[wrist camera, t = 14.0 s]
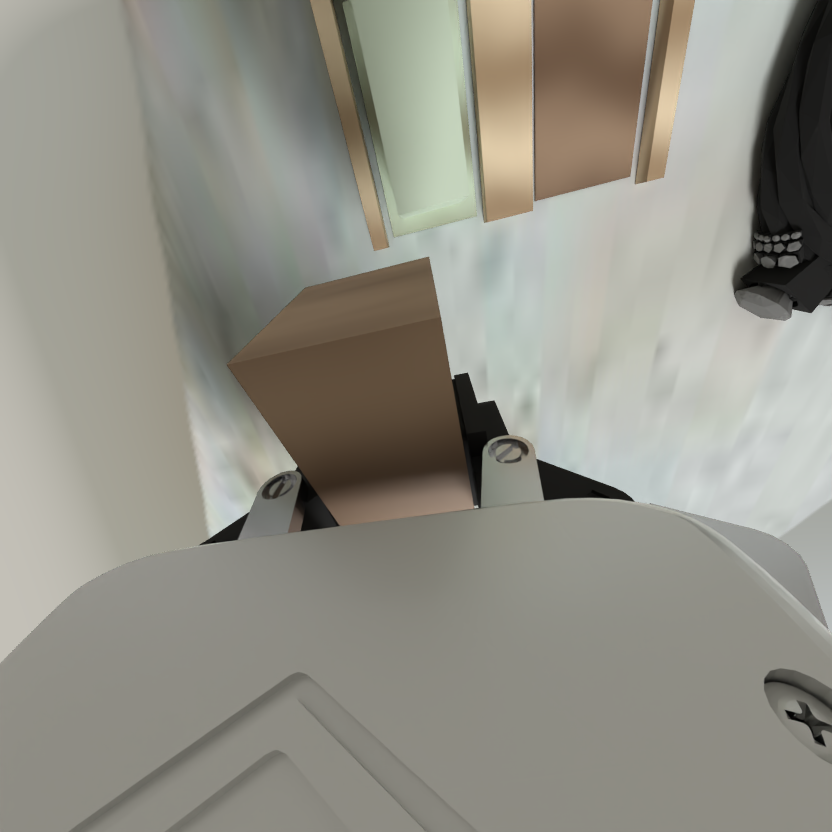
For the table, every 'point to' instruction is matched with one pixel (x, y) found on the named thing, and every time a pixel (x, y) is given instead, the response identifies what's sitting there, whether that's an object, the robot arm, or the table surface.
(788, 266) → the cable lock
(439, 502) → the walnut bar
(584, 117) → the oak rack
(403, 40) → the sage bar
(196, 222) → the table surface
